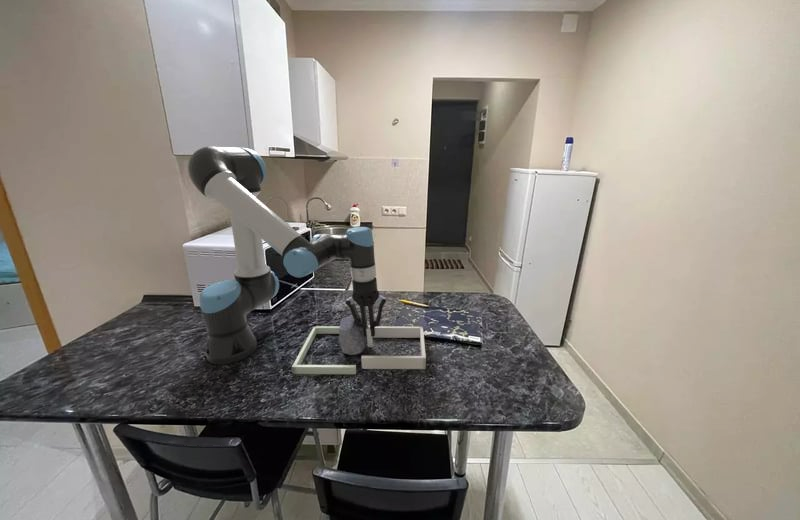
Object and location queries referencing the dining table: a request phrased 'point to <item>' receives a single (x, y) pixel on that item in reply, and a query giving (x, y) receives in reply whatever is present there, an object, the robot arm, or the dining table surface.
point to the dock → (397, 361)
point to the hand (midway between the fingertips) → (370, 344)
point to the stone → (351, 336)
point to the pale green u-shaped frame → (320, 369)
